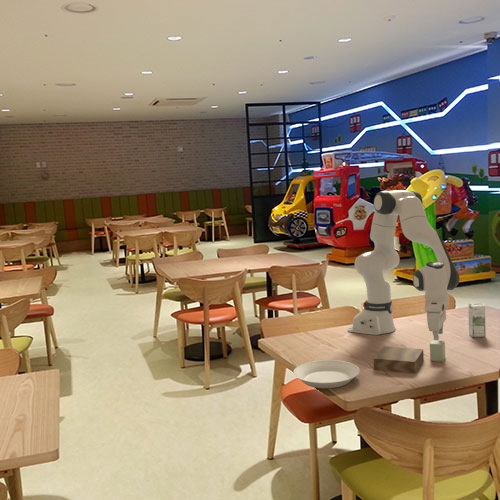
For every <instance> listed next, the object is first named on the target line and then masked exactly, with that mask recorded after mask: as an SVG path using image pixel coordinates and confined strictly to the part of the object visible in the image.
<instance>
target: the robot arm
mask: <svg viewBox="0 0 500 500" xmlns="http://www.w3.org/2000/svg"><path fill="white" fill-rule="evenodd" d="M423 201H424V199H423V197H422V194H421V193H419V192H418V191H414V190H406V189H405V190H403V189H398V190H382V191H378V192H377V193H376V194H375V196H374V199H373V207H374V209H375V210H374V213H373V217H372V221H371V225H370V226H371V227H370V232H369V238H370V240H371V241H372V242H373V243H374V249H373V250H372V251H366V252H363V253H362V254H360V255H358V256H356V258H355V261H354V268H355V271H356V273H358V274H359V275H360V276H361V277H362V279H363V280H364V283H365V288H366V298H367V299H366V300H365V301H364V302H363V304H362V308H363V309H362V310H361V311H359V312H358V313H357V314H356V315H354V317H353V319H352V324H350V325H349V326H348V329H347V331H348V332H349V333H359V334H364V335H372V336H378V335H382V334H390V333H393V332H394V331H396V329H397V328H396V325H395V323H394V318H393V301H392V299H391V298H392V295H391V285H390V283H389V282H387V281H385V277H384V275H383V273H385V272H390V271H392V270H393V269H395V268H396V267H398V265H399V264H400V261H401V260H400V259H401V258H400V254H399V253H398V252H397V250H396V248H395V236H396V235H395V233H396V228H397V222H398V217H399V223H400V227H401V230H402V234H403V235H404V237H405V238H406V239H408V240H409V241H411V242H414V243H417V244H421V245H423V246H426V247H428V248H430V249H431V250H432V251H433V252H434V254H435V255H434V256H435V257H436V259H437V261H428V262H426V263H425V264H424V266H423V267H420V268H418V269H417V268H416V270H415V271H414V272H413V274H412V285H413V287H414V288H415V289H416V290H418V292H425V294H424V302H425V303H424V304H425V305H424V311H425V313H426V320H427V329H428V330H429V332H432V335H433V340H439V341H440V335H443V333H444V323H445V322H446V320H447V311H446V309H448V308H449V306H450V304H449V303H450V302H449V293H448V291H452V290H454V289H455V288H457V286H458V284H459V283H460V273H459V271H458V270H457V268H456V266H455V265H454V263H453V260H452V258H451V256H450V254H449V251H448V249H447V247H446V244H445V241H444V240H443V238H442V236H441V234H440V232H439V231H438V230H436V229H434V228H433V227H432V226H431V224H430V223H429V221H428V218H427V213H426V210H425V207H424V204H423Z"/></svg>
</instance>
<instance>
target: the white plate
mask: <svg viewBox="0 0 500 500" xmlns="http://www.w3.org/2000/svg"><path fill="white" fill-rule="evenodd" d="M360 371H361V370H360V367H359V366H357V365H356V364H354V363H352V362H348V361H345V360H338V359H337V360H336V359H323V360H321V359H320V360H313V361H309V362H305V363H303V364H299V365H298V366H296V367H295V368H294V369H293V372H292V373H293V375H294V376H295V378H297V379H298V380H300V381H301V382H302V383H303V384H305V385H306V386H308V387H312V388H316V389H335V388H339V387H343V386H346V385H348V384H349V383H351V381H352V380H353V379H354V378H355V377H357V376H358V375H359V374H360Z"/></svg>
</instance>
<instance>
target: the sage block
mask: <svg viewBox="0 0 500 500" xmlns="http://www.w3.org/2000/svg"><path fill="white" fill-rule="evenodd" d="M429 355H430V357H429V358H430V359H429V360H430V361H431V362H433V361H434V362H444V361H445V360H446V341H445V340H440V339H439V340H434V339H432V340H430V343H429Z"/></svg>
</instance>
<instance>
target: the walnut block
mask: <svg viewBox="0 0 500 500" xmlns="http://www.w3.org/2000/svg"><path fill="white" fill-rule="evenodd" d="M424 356H425V355H424V349H423V348H414V347H413V348H411V347H410V348H407V347H398V346H396V347H395V346H382V348H381V349H380V350H379V352H377V354H376V355H375V356H374V357H373V358H372V359H373V370H374V369H375V370H374V371H384V372H394V373H396V372H397V373H406V374H417V373H418V371H419V369H420V367H421V365H422V364H423V362H425V361H424V358H425V357H424Z"/></svg>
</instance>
